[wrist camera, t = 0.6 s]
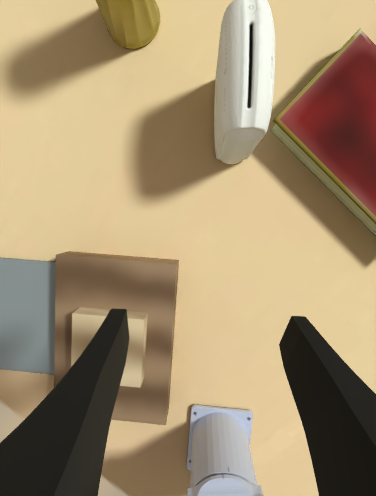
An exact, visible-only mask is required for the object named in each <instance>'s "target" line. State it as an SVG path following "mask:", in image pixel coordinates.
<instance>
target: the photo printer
mask: <svg viewBox="0 0 376 496" xmlns="http://www.w3.org/2000/svg"><path fill="white" fill-rule="evenodd" d="M274 71H275V30H274V24H273V17H272V12H271V9H270V6H269V3H268V1H267V0H234V1H233V2H232V3H230V5H229V6H228V7H227V9H226V10H225V13H224V16H223V20H222V25H221V32H220V41H219V51H218V60H217V69H216V80H215V98H214V141H215V153H216V158H217V160H221V161H222V162H224V163H226V164H237V163H239V162H241V161H242V160H243V159H247V158H248V157H249V156H250V154H251V153H252V152H253V150H254V149H255V148H256V146H257V145H258V144H259V142H260V141H261V140H262V138H263V137H264V136H265V134H266V132H267V129H268V125H269V122H270V118H271V111H272V102H273V89H274Z"/></svg>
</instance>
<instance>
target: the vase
mask: <svg viewBox="0 0 376 496" xmlns="http://www.w3.org/2000/svg"><path fill="white" fill-rule="evenodd" d="M96 2H97V5H98V7H99V9H100V12H101V14H102V16H103V18H104V21H105V23H106V25H107V28H108V32H109V33H110V35H111V36H112V38H113V39H114V40H115V41H116V42H117V43H118V44H119V45H121V46H123V47H126V48H130V49H134V48H139V47H143V46H145V45H147V44H148V43H149V42H150V41H152V39H153V38H154V37H155V35H156V34H157V31H158V28H159V24H160V13H159V8H158V6H157V4H156V1H155V0H96Z"/></svg>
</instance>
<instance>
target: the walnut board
mask: <svg viewBox="0 0 376 496" xmlns="http://www.w3.org/2000/svg"><path fill="white" fill-rule="evenodd" d="M178 266H179V260H170V259H158V258H145V257H133V256H120V255H107V254H95V253H82V252H65V253H61V254H57V255H56V296H55V378H54V388H55V386H56V385H57V384H58V383H59V382H60V381H61V379H62V378H63V377H64V376H65V375H66V373H67V372H68V371H69V369H70V368H71V347H72V313H73V312H75V311H76V310H77V309H79V308H80V307H84V308H95V309H107V310H111V309H112V308H113V309H127V311H130V312H141V313H148V316H147V334H146V352H145V370H144V379H143V382H142V384H141V387H140V388H138V387H128V386H120V387H119V391H118V394H117V398H116V402H115V406H114V409H113V413H112V417H111V419H112V420H121V421H131V422H140V423H150V424H160V425H166V421H167V415H168V409H169V397H170V382H171V368H172V353H173V339H174V324H175V310H176V295H177V281H178Z"/></svg>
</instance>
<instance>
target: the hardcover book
mask: <svg viewBox="0 0 376 496" xmlns="http://www.w3.org/2000/svg"><path fill="white" fill-rule="evenodd" d="M273 121H274V122H275V123H276V124H275V125H274V127H273V128H272V129H271V131H272V132H273V133H274V134H275V135H276V136H277V137H278V138H279V139H280V140H281V141H282V142H283V143H284V144H285V145H286V146H287V147H288V148H289V149H290V150H291V151H292V152H293V153H294V154H295V155H296V156H297V157H298V158H299V159H300V160H301V161H302V162H303V163H304V164H305V165H306V166H307V167H308V168H309V169H310V170H311V171H312V172H313V173H314V174H315V175H316V176H317V177H318V178H319V179H320V180H321V181H322V182H323V183H324V184H325V185H326V186H327V187H328V188H329V189H330V190H331V191H332V192H333V193H334V194H335V195H336V196H337V197H338V198H339V199H340V200H341V201H342V202H343V203H344V204H345V205H346V206H347V207H348V209H349V210H350V211H351V212H352V213H353V214H354V215H355V216H356V217H357V218H358V219H359V220H360V221H361V222H362V223H363V224H364V225H365V226H366V227H367V228H368V229H369V230H370V231H371V232H372V233H373V234H374V235H375V236H376V45H375V44H374V43H373V42H372V41H371V40H370V39H369V38H368V37H367V36H366V35H365V34H364V33H363V31H362V30H361V29H359V30H358V31H357V32H356V33H355V34H354V35H353V36H352V37H351V38H350V40H349V41H348V42H347V43H346V44H345V45H344V46H343V47H342V48H341V49H340V50H339V51H338V52H337V53H336V54H335V55H334V56H333V57H332V59H331V60H330V61H329V62H328V63H327V64H326V65H325V66H324V67H323V68H322V69H321V70H320V71H319V72H318V73H317V74H316V75H315V77H314V78H313V79H312V80H311V81H310V82H309V83H308V84H307V85H306V86H305V87H304V88H303V89H302V90H301V91H300V92H299V93H298V95H297V96H296V97H295V98H294V99H293V100H292V101H291V102H290V103H289V104H288V105H287V106H286V107H285V108H284V109H283V110H282V111H281V112H280V114H279V115H278V116H277V117H276V118H275V119H274V120H273Z"/></svg>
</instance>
